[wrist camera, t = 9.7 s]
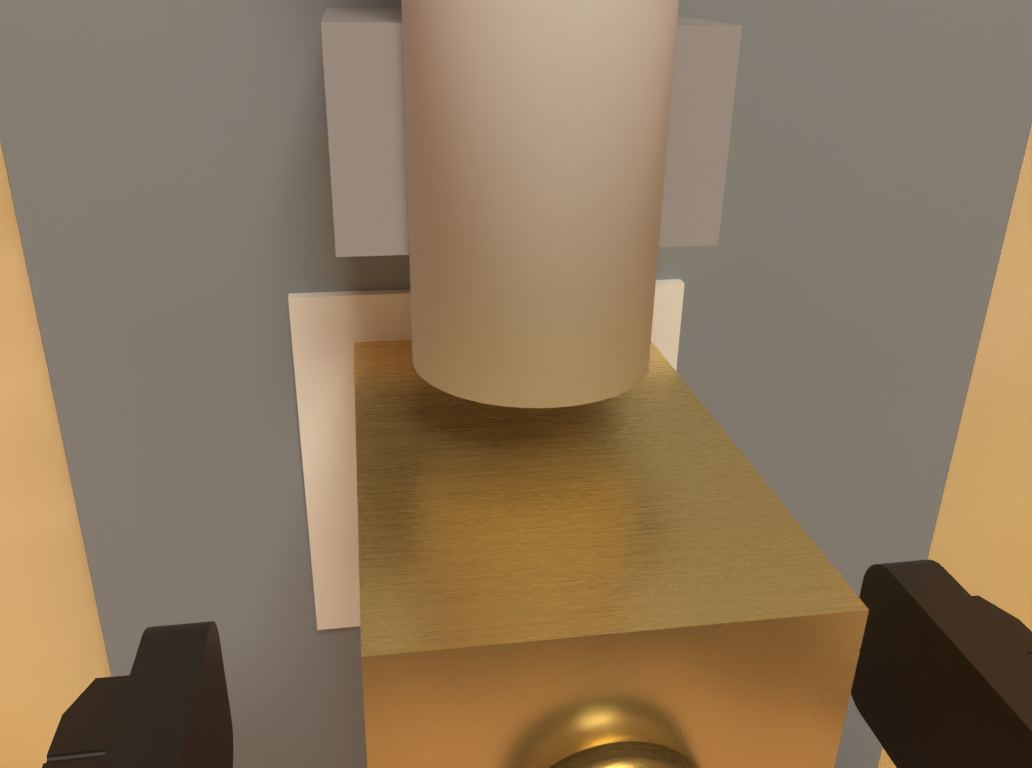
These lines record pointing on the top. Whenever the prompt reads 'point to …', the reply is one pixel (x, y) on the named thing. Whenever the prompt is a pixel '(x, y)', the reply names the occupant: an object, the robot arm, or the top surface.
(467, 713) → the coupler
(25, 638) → the top surface
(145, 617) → the shaft base
